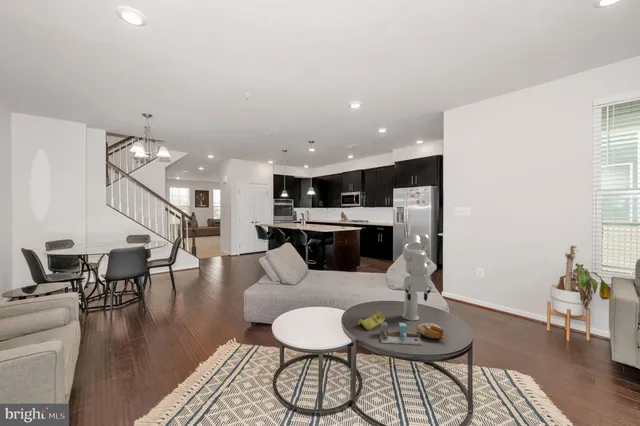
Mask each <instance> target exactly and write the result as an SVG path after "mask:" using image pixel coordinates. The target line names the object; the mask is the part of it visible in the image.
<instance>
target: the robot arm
mask: <svg viewBox="0 0 640 426" xmlns="http://www.w3.org/2000/svg"><path fill="white" fill-rule="evenodd" d="M407 236H408V237H407V238H405V239H403V241H402V257H403V258H402V259H403V260H404V261H405V272H406V273H407V274H409V275H408V276H405V277H404V278H403V286H402V287H403V289H404V303H403V304H404V305H403V306H404V307H403V313H402V314H401V318H403V319H404V320H407V321H411V322H413V321H419V320H420V316H419V315H418V301H419V299H418V297H419V296H418V293H417V292H422V293H423V292H424V293H423V300H424V301H425V302H427V300H428V299H429V298H428V296H429V294H430V293H431V291H432V289H433V287H432V286H431V285H429V265H428V264H427V263H426V260H427V252H426V250H427V249H428V247H429V245H430V237H429V235H428V234H426V233H411V234H409V235H407Z"/></svg>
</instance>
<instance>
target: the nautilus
mask: <svg viewBox="0 0 640 426" xmlns="http://www.w3.org/2000/svg"><path fill="white" fill-rule="evenodd" d="M415 327H416V329H415V330H417V332H418V333H420V335H422V336H424V337H426V338H429V339H437V340H440V341H441V342H442V343H445V342H446V343H448V344H450V342H449V341H448V338H449V339H450V337H449V336H448V335H447V333H446V332H444V330H443V328H442V327H440V326H439V325H438V324H435V323H431V322H430V323H429V322H424V323H423V322H422V323H420V324H417V325H416V326H415ZM446 336H447V337H446Z"/></svg>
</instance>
